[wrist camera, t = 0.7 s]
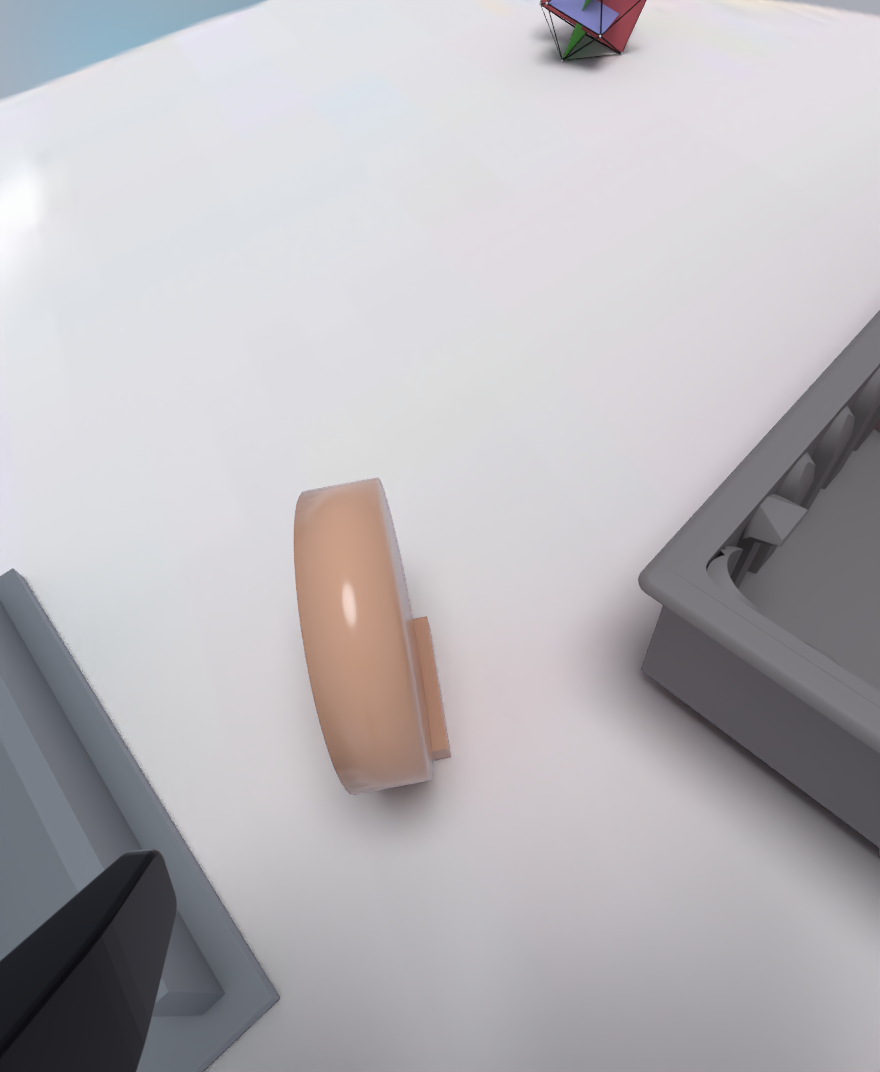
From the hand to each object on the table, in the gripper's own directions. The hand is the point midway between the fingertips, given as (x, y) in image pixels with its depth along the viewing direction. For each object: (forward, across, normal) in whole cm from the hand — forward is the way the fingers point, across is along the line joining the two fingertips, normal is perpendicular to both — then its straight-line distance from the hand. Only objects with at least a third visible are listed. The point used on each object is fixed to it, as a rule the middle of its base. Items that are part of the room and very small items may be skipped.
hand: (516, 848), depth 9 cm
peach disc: (+15, +4, +8) cm, 18 cm away
